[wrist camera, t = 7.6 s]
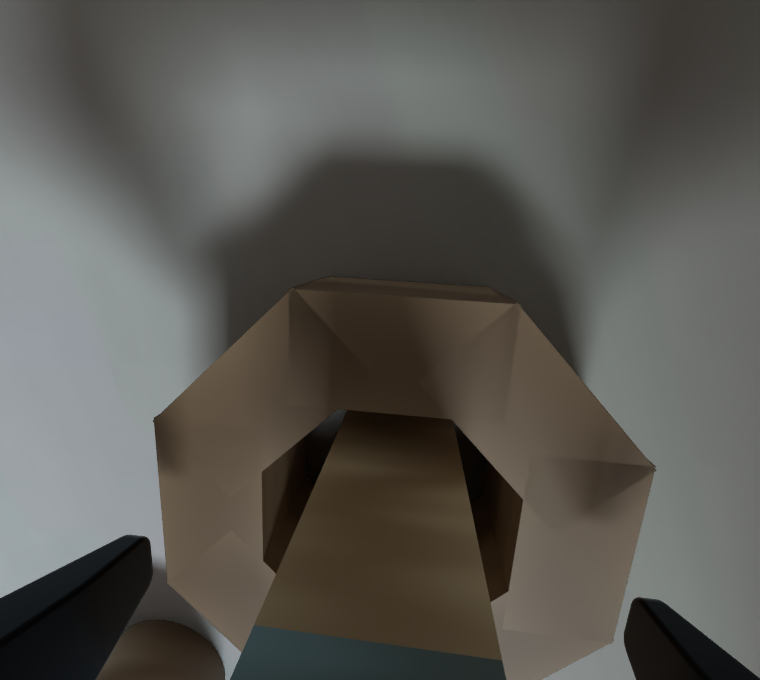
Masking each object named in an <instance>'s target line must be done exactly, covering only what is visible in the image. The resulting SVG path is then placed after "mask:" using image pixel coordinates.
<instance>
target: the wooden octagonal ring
mask: <svg viewBox="0 0 760 680" xmlns="http://www.w3.org/2000/svg"><path fill="white" fill-rule="evenodd" d="M337 409H343V410H354V411H365V412H376V413H387V414H397V415H408V416H419V417H430V418H441V419H452V421H453V422H454V423H455V424H456V425H457V426H458V427H459V428H460V430H461V431H462V432H463V433H464V434H465V435H466V436H467V437H468V438H469V440H470V441H471V442H472V443H473V444H474V445H475V446H476V447H477V449H478V450H479V451H480V452H481V453H482V454H483V455H484V456H485V457H486V459H487V468H486V475H485V483H484V490H483V495H482V496H481V497H479V498H478V499H476V500H475V501H473V502H472V503H470V505H471V510H472V515H473V520H474V525H475V530H476V535H477V540H478V544H479V549H480V554H481V559H482V564H483V569H484V574H485V578H486V583H487V588H488V593H489V598H490V603H491V608H492V613H493V617H494V622H495V627H496V632H497V637H498V642H499V647H500V651H501V656H502V661H503V666H504V671H505V676H506V680H542V679H543V678H545V677H547V676H549V675H551V674H553V673H555V672H557V671H559V670H560V669H562V668H564V667H566V666H568V665H570V664H572V663H574V662H576V661H577V660H579V659H581V658H583V657H585V656H587V655H589V654H591V653H592V652H594V651H596V650H598V649H600V648H602V647H604V646H606V645H608V644H609V643H612V642H613V641H614V639H613V638H614V634H615V630H616V626H617V622H618V618H619V614H620V610H621V605H622V601H623V597H624V593H625V589H626V585H627V581H628V577H629V573H630V569H631V565H632V561H633V557H634V553H635V549H636V544H637V540H638V536H639V532H640V528H641V524H642V520H643V516H644V512H645V508H646V504H647V500H648V496H649V492H650V488H651V483H652V479H653V475H654V472H655V471H656V469H655V467H656V466H654V465H653V464H652V463H651V462H650V461H649V460H648V459H647V458H646V457H645V456H644V455H643V454H642V452H641V451H640V450H639V449H638V448H637V446H636V445H635V444H634V443H633V442H632V440H631V439H630V438H629V437H628V436H627V434H626V433H625V432H624V431H623V429H622V428H621V427H620V426H619V425H618V423H617V422H616V421H615V420H614V419H613V417H612V416H611V415H610V414H609V413H608V411H607V410H606V409H605V408H604V407H603V405H602V404H601V403H600V402H599V401H598V399H597V398H596V397H595V396H594V395H593V393H592V392H591V391H590V390H589V389H588V387H587V386H586V385H585V384H584V383H583V381H582V380H581V379H580V378H579V377H578V375H577V374H576V373H575V372H574V371H573V369H572V368H571V367H570V366H569V365H568V363H567V362H566V361H565V360H564V359H563V357H562V356H561V355H560V354H559V353H558V351H557V350H556V349H555V348H554V347H553V345H552V344H551V343H550V342H549V340H548V339H547V338H546V337H545V336H544V334H543V333H542V332H541V331H540V330H539V328H538V327H537V326H536V325H535V324H534V322H533V321H532V320H531V319H530V318H529V316H528V315H527V314H526V313H525V312H524V310H523V309H522V308H521V304H519V303H517V302H515V301H513V300H512V299H510V298H508V297H506V296H504V295H502V294H500V293H499V292H497V291H495V290H493V289H491V288H489V287H487V286H484V287H483V286H467V285H452V284H436V283H421V282H406V281H390V280H375V279H359V278H344V277H332V276H328V277H325V278H322V279H319V280H315V281H312V282H309V283H306V284H302V285H299V286H296V287H293V288H290V289H289V292H288V293H287V294H285V295H284V296H283V297H282V298H281V299H280V300H279V301H278V302H277V303H276V304H275V305H274V306H273V307H272V308H271V309H270V310H269V311H268V312H267V313H266V314H265V315H263V316H262V317H261V318H260V319H259V320H258V321H257V322H256V323H255V324H254V325H253V326H252V327H251V328H250V329H249V330H248V331H247V332H246V333H245V334H244V335H242V336H241V337H240V338H239V339H238V340H237V341H236V342H235V343H234V344H233V345H232V346H231V347H230V348H229V349H228V350H227V351H226V352H225V353H224V354H223V355H222V356H220V357H219V358H218V359H217V360H216V361H215V362H214V363H213V364H212V365H211V366H210V367H209V368H208V369H207V370H206V371H205V372H204V373H203V374H202V375H201V376H200V377H198V378H197V379H196V380H195V381H194V382H193V383H192V384H191V385H190V386H189V387H188V388H187V389H186V390H185V391H184V392H183V393H182V394H181V395H180V396H179V397H177V398H176V399H175V400H174V401H173V402H172V403H171V404H170V405H169V406H168V407H167V408H166V409H165V410H164V411H163V412H162V413H161V414H159V415H158V416H156V417H154V420H153V422H154V426H155V438H156V450H157V462H158V474H159V486H160V498H161V510H162V521H163V533H164V545H165V557H166V569H167V583H168V585H170V586H171V587H172V588H173V589H174V590H175V591H176V592H177V593H178V594H180V595H181V596H182V597H183V598H184V599H185V600H186V601H187V602H188V603H189V604H190V605H191V606H192V607H194V608H195V609H196V610H197V611H198V612H199V613H200V614H201V615H202V616H203V617H204V618H205V619H206V620H207V621H209V622H210V623H211V624H212V625H213V626H214V627H215V628H216V629H217V630H218V631H219V632H220V633H221V634H223V635H224V636H225V637H226V638H227V639H228V640H229V641H230V642H231V643H232V644H233V645H234V646H235V647H236V648H238V649H239V650H240V651H241V652H242V651H243V649H244V647H245V644H246V642H247V640H248V637H249V635H250V633H251V631H252V628H253V626H254V624H255V621H256V619H257V617H258V614H259V612H260V610H261V608H262V605H263V603H264V601H265V598H266V596H267V594H268V591H269V589H270V587H271V585H272V582H273V580H274V578H275V575H276V573H277V571H278V568H279V566H280V564H281V562H282V559H283V557H284V555H285V552H286V550H287V548H288V545H289V543H290V541H291V539H292V536H293V534H294V532H295V529H296V527H297V525H298V523H299V520H300V518H301V516H302V513H303V511H304V509H305V506H306V504H307V502H308V500H309V497H310V495H311V493H312V490H313V488H314V485H313V484H312V483H311V482H310V481H309V480H308V479H307V478H306V477H305V441H306V435H307V434H308V433H310V432H311V431H312V430H313V429H314V428H316V427H317V426H318V425H319V424H320V423H322V422H323V421H324V420H325V419H326V418H328V417H329V416H330V415H331V414H333V413H334V412H335V411H336V410H337Z"/></svg>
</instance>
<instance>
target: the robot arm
mask: <svg viewBox="0 0 760 680" xmlns="http://www.w3.org/2000/svg"><path fill="white" fill-rule="evenodd" d="M152 575H153V567H152V556H151V545H150V541H149V539H148V538H147V537H144V536H137V535H125V536H123V537H121V538H119V539H117V540H115V541H113V542H111V543H109V544H107V545H105V546H103V547H101V548H99V549H97V550H95V551H93V552H91V553H89V554H87V555H85V556H83V557H81V558H79V559H77V560H75V561H73V562H71V563H69V564H67V565H65V566H63V567H61V568H59V569H57V570H55V571H53V572H51V573H49V574H47V575H45V576H43V577H41V578H40V579H38V580H36V581H34V582H32V583H30V584H28V585H26V586H24V587H22V588H20V589H18V590H16V591H14V592H12V593H10V594H8V595H6V596H4V597H2V598H0V680H96V678H97V677H98V675H99V673H100V672H101V670H102V668H103V667H104V665H105V663H106V662H107V660H108V658H109V656H110V655H111V653H112V651H113V649H114V647H115V646H116V644H117V642H118V640H119V639H120V637H121V635H122V633H123V631H124V630H125V628H126V626H127V624H128V623H129V621H130V619H131V617H132V615H133V614H134V612H135V610H136V608H137V607H138V605H139V603H140V601H141V599H142V598H143V596H144V594H145V592H146V591H147V589H148V587H149V585H150V582H151V579H152ZM624 644H625V648H626V652H627V655H628V658H629V660H630V663H631V666H632V669H633V672H634V675H635V678H636V680H760V678H759V677H757V676H756V675H755V674H754V673H752V672H751V671H750V670H749V669H747V668H746V667H745V666H743V665H742V664H741V663H740V662H738V661H737V660H736V659H735V658H733V657H732V656H731V655H730V654H728V653H727V652H726V651H725V650H723V649H722V648H721V647H719V646H718V645H717V644H716V643H714V642H713V641H712V640H711V639H709V638H708V637H707V636H706V635H704V634H703V633H702V632H701V631H699V630H698V629H697V628H696V627H694V626H693V625H692V624H690V623H689V622H688V621H687V620H685V619H684V618H683V617H682V616H680V615H679V614H678V613H677V612H675V611H674V610H673V609H672V608H670V607H669V606H668V605H666V604H665V603H664V602H662V601H660V600H657V599H649V598H641V597H638V598H635V599H634V600H633V601H632V604H631V607H630V611H629V615H628V619H627V623H626V627H625V631H624Z"/></svg>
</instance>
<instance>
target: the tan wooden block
mask: <svg viewBox="0 0 760 680" xmlns="http://www.w3.org/2000/svg"><path fill="white" fill-rule="evenodd" d="M230 680H506V676H505V671H504V666H503V661H502V656H501V651H500V647H499V642H498V637H497V632H496V627H495V622H494V617H493V613H492V608H491V603H490V598H489V593H488V588H487V583H486V578H485V574H484V569H483V564H482V559H481V554H480V549H479V544H478V540H477V535H476V530H475V525H474V520H473V515H472V510H471V505H470V501H469V496H468V491H467V486H466V481H465V476H464V471H463V467H462V462H461V457H460V452H459V447H458V442H457V437H456V432H455V428H454V423H453V421H452V419H441V418H430V417H419V416H408V415H397V414H387V413H376V412H365V411H354V410H347V412H346V415H345V417H344V419H343V421H342V424H341V426H340V428H339V431H338V433H337V435H336V437H335V440H334V442H333V444H332V447H331V449H330V451H329V454H328V456H327V458H326V460H325V463H324V465H323V467H322V470H321V472H320V474H319V477H318V479H317V481H316V483H315V486H314V488H313V490H312V493H311V495H310V497H309V500H308V502H307V504H306V506H305V509H304V511H303V513H302V516H301V518H300V520H299V523H298V525H297V527H296V529H295V532H294V534H293V536H292V539H291V541H290V543H289V545H288V548H287V550H286V552H285V555H284V557H283V559H282V562H281V564H280V566H279V568H278V571H277V573H276V575H275V578H274V580H273V582H272V585H271V587H270V589H269V591H268V594H267V596H266V598H265V601H264V603H263V605H262V608H261V610H260V612H259V614H258V617H257V619H256V621H255V624H254V626H253V628H252V631H251V633H250V635H249V637H248V640H247V642H246V644H245V647H244V649H243V651H242V654H241V656H240V658H239V660H238V663H237V665H236V667H235V670H234V672H233V674H232V676H231V679H230Z"/></svg>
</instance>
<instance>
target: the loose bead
mask: <svg viewBox="0 0 760 680" xmlns="http://www.w3.org/2000/svg"><path fill="white" fill-rule="evenodd" d="M96 680H225V670H224V666H223V662H222V660H221V658H220V656H219V654H218V653H217V651H216V650H215V648H214V647H213V646H212V645H211V644H210V643H209V642H208V640H206V639H205V638H204V637H203V636H202V635H200V634H199V633H197V632H196V631H194V630H192V629H191V628H189V627H187V626H184V625H182V624H179V623H175V622H172V621H166V620H148V621H143V622H140V623H137V624H135V625H133V626H131V627H130V628H128V629H127V630H126V631H125V632H124V633H123V634H122V635H121V637H120V639H119V640H118V642H117V644H116V646H115V647H114V649H113V651H112V653H111V655H110V656H109V658H108V660H107V662H106V663H105V665H104V667H103V668H102V670H101V672H100V673H99V675H98V677H97V678H96Z"/></svg>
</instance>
